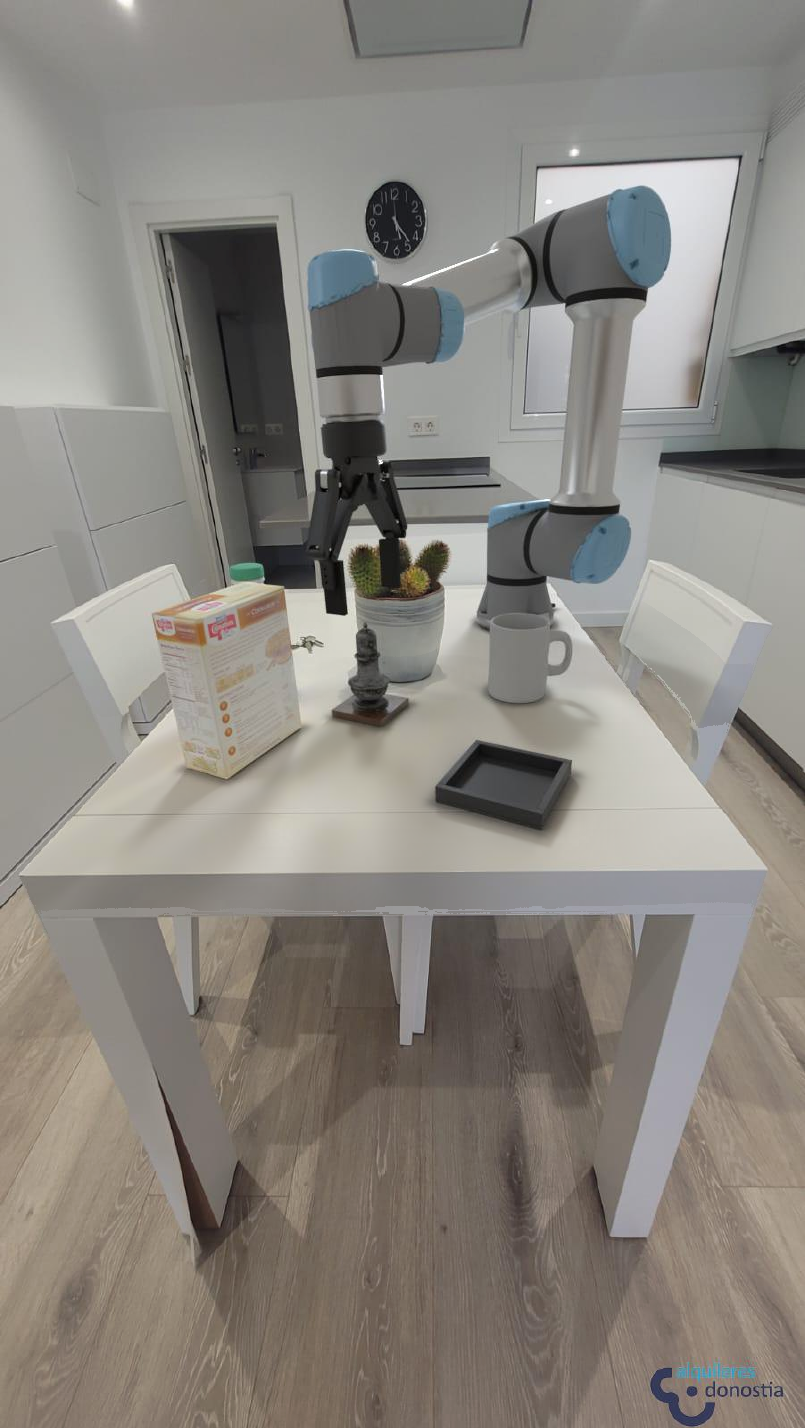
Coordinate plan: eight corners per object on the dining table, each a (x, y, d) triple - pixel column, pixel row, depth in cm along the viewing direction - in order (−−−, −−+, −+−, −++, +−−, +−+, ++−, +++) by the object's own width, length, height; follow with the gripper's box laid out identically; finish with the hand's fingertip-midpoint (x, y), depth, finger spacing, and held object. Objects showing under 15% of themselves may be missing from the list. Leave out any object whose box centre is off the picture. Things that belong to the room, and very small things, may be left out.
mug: (491, 704, 85) (493, 631, 81) (484, 681, 93) (486, 613, 88) (575, 702, 85) (582, 628, 80) (561, 679, 93) (568, 611, 88)
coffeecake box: (263, 718, 84) (242, 580, 75) (304, 727, 81) (287, 585, 72) (183, 768, 72) (147, 611, 64) (227, 781, 69) (196, 618, 60)
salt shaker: (354, 715, 81) (348, 631, 76) (346, 698, 86) (339, 619, 81) (395, 709, 83) (392, 626, 78) (385, 693, 88) (380, 614, 83)
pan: (475, 753, 73) (476, 739, 72) (570, 774, 68) (572, 759, 67) (435, 801, 64) (435, 786, 63) (541, 830, 59) (542, 814, 58)
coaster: (362, 695, 90) (361, 689, 89) (408, 704, 86) (408, 698, 86) (332, 716, 84) (331, 710, 83) (381, 727, 80) (380, 720, 80)
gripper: (379, 418, 80) (388, 575, 90) (255, 424, 61) (283, 623, 70) (429, 416, 77) (432, 579, 86) (315, 421, 57) (336, 631, 67)
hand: (366, 599), depth 78 cm, fingers open, 13 cm apart
